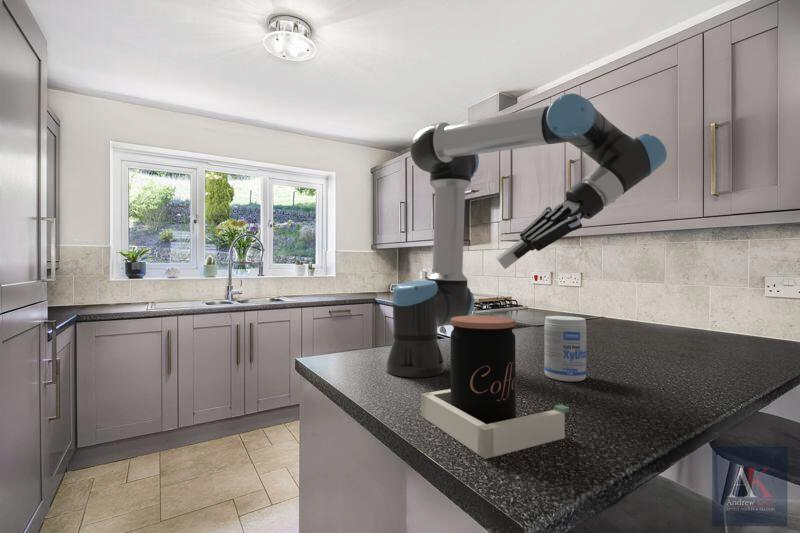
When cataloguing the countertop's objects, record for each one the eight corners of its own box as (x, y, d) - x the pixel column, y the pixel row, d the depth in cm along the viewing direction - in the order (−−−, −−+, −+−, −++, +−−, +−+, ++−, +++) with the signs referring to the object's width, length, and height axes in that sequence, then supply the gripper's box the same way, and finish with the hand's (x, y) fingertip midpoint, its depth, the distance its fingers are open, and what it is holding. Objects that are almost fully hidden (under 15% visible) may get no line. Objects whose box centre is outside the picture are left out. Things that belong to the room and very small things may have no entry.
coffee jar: (469, 444, 59) (468, 324, 59) (440, 418, 69) (440, 316, 69) (529, 435, 62) (528, 321, 62) (493, 412, 72) (493, 314, 72)
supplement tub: (569, 385, 89) (569, 320, 90) (536, 375, 98) (535, 316, 98) (595, 379, 94) (594, 318, 95) (560, 370, 103) (560, 314, 103)
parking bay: (421, 415, 70) (421, 390, 70) (493, 402, 77) (493, 379, 77) (485, 459, 54) (485, 425, 54) (569, 437, 61) (569, 407, 61)
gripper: (619, 213, 77) (521, 286, 79) (584, 203, 89) (500, 267, 92) (602, 183, 74) (501, 259, 77) (568, 177, 87) (482, 243, 90)
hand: (500, 263), depth 84 cm, fingers closed
